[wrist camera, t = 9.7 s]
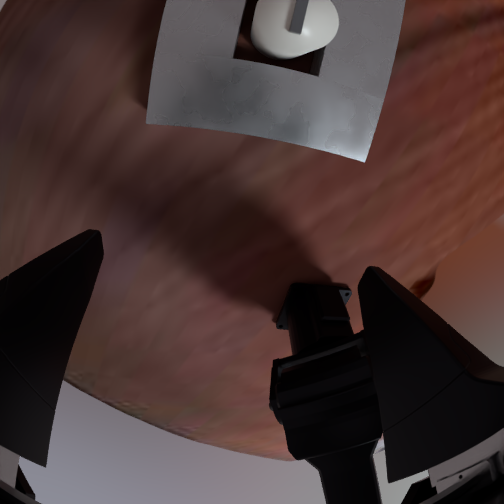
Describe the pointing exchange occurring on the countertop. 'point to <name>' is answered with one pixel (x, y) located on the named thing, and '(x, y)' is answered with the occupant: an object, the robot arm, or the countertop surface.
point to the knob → (293, 27)
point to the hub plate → (275, 77)
